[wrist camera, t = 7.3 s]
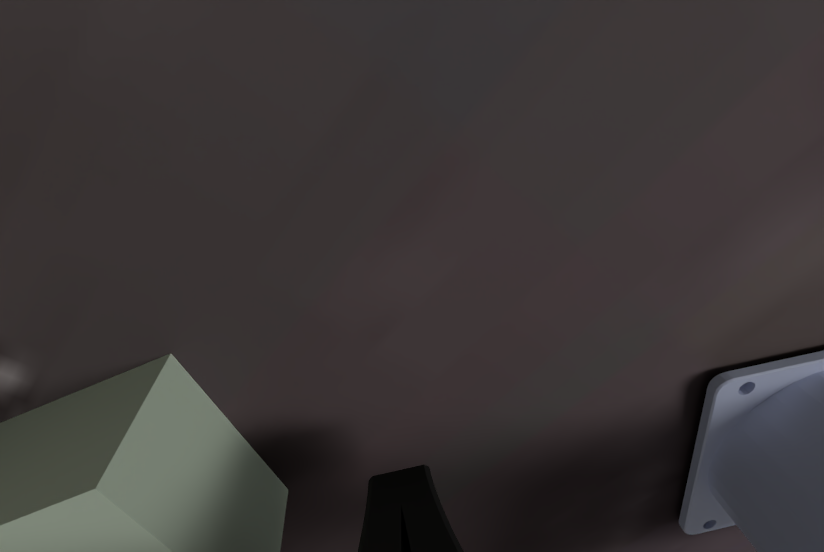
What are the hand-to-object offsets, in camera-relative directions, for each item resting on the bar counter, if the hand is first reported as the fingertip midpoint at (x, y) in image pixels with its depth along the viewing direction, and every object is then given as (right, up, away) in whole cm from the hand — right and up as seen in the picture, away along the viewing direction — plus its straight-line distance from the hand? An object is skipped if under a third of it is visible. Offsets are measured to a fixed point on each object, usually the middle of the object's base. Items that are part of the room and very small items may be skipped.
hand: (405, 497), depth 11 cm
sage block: (-8, 0, +2) cm, 8 cm away
